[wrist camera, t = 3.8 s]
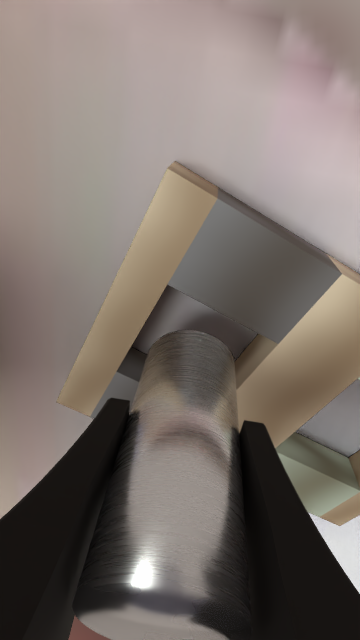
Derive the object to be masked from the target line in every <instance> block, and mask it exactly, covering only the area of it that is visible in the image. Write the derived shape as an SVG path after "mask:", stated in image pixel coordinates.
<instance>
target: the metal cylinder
mask: <svg viewBox="0 0 360 640" xmlns="http://www.w3.org/2000/svg"><path fill="white" fill-rule="evenodd" d="M72 608H73V612H74V614H75V615H76V617H77V618H78V619H79V620H80V621H81V622H82V623H83V624H84V625H86V626H87V627H89V628H90V629H92V630H94V631H95V632H97V633H99V634H101V635H103V636H105V637H107V638H110V639H112V640H249V639H250V637H251V635H252V622H251V606H250V591H249V576H248V560H247V545H246V530H245V514H244V499H243V484H242V468H241V453H240V438H239V422H238V407H237V392H236V377H235V363H234V359H233V356H232V354H231V352H230V350H229V349H228V347H227V346H226V345H225V344H224V343H223V342H221V341H220V340H219V339H217V338H216V337H214V336H212V335H210V334H207V333H204V332H201V331H195V330H180V331H175V332H171V333H169V334H166V335H164V336H162V337H161V338H159V339H158V340H157V341H156V342H155V343H154V344H153V345H152V346H151V348H150V350H149V352H148V354H147V358H146V361H145V364H144V368H143V371H142V374H141V378H140V381H139V384H138V387H137V391H136V394H135V397H134V401H133V404H132V407H131V411H130V414H129V418H128V421H127V424H126V428H125V431H124V434H123V438H122V441H121V444H120V447H119V450H118V454H117V457H116V460H115V464H114V467H113V470H112V474H111V477H110V480H109V484H108V487H107V490H106V494H105V497H104V500H103V503H102V507H101V510H100V513H99V517H98V520H97V523H96V527H95V530H94V533H93V537H92V540H91V543H90V547H89V550H88V553H87V556H86V560H85V563H84V566H83V570H82V573H81V576H80V580H79V583H78V586H77V590H76V593H75V596H74V600H73V603H72Z"/></svg>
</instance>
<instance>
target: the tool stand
mask: <svg viewBox="0 0 360 640" xmlns="http://www.w3.org/2000/svg"><path fill="white" fill-rule="evenodd" d="M167 285H169V286H171V287H173V288H175V289H177V290H178V291H180V292H182V293H184V294H186V295H188V296H190V297H191V298H193V299H195V300H197V301H199V302H201V303H203V304H205V305H206V306H208V307H210V308H212V309H214V310H216V311H218V312H219V313H221V314H223V315H225V316H227V317H229V318H231V319H233V320H234V321H236V322H238V323H240V324H242V325H244V326H246V327H247V328H249V329H251V330H253V331H255V332H257V333H259V334H258V335H257V336H256V337H255V338H254V340H253V341H252V342H251V343H250V344H249V346H248V347H247V348H246V349H245V350H244V351H243V353H242V354H241V355H240V356H239V357H238V359H237V360H236V361H235V362H234V363H235V377H236V392H237V407H238V422H239V433H240V431H241V428H242V425H243V422H244V420H247V421H253V422H259V423H264V425H265V426H266V428H267V431H268V433H269V435H270V438H271V440H272V442H273V444H274V447H275V449H276V451H277V453H278V455H279V458H280V460H281V462H282V464H283V466H284V468H285V470H286V472H287V474H288V476H289V478H290V480H291V482H292V484H293V486H294V488H295V490H296V492H297V493H298V495H299V497H300V499H301V501H302V503H303V505H304V506H305V508H306V510H307V512H309V513H311V514H313V515H316V516H318V517H320V518H322V519H325V520H327V521H329V522H332V523H334V524H336V525H338V526H341V525H343V524H344V523H346V522H348V521H350V520H351V519H353V518H355V517H357V516H358V515H360V450H359V451H358V452H356V453H355V454H353V455H352V456H351V457H349V458H347V457H345V456H343V455H341V454H339V453H337V452H335V451H333V450H331V449H329V448H327V447H325V446H323V445H321V444H318V443H316V442H314V441H312V440H310V439H308V438H306V437H304V436H302V435H300V434H298V433H296V432H295V431H296V430H298V429H299V428H300V427H301V426H302V425H303V424H305V423H306V422H307V421H308V420H309V419H310V418H312V417H313V416H314V415H315V414H316V413H318V412H319V411H320V410H321V409H322V408H323V407H325V406H326V405H327V404H328V403H329V402H330V401H332V400H333V399H334V398H335V397H336V396H337V395H339V394H340V393H341V392H342V391H343V390H345V389H346V388H347V387H348V386H349V385H350V384H352V383H353V382H354V381H355V380H356V379H358V380H360V274H359V273H357V272H355V271H354V270H352V269H350V268H349V267H347V266H346V265H344V264H342V263H341V262H339V261H337V260H336V259H334V258H333V257H331V256H329V255H328V254H326V253H324V252H323V251H321V250H319V249H318V248H316V247H315V246H313V245H311V244H310V243H308V242H306V241H305V240H303V239H301V238H300V237H298V236H297V235H295V234H293V233H292V232H290V231H288V230H287V229H285V228H284V227H282V226H280V225H279V224H277V223H275V222H274V221H272V220H270V219H269V218H267V217H266V216H264V215H262V214H261V213H259V212H257V211H256V210H254V209H252V208H251V207H249V206H248V205H246V204H244V203H243V202H241V201H239V200H238V199H236V198H235V197H233V196H231V195H230V194H228V193H226V192H225V191H223V190H221V189H220V188H218V187H217V186H215V185H213V184H212V183H210V182H208V181H207V180H205V179H203V178H202V177H200V176H199V175H197V174H195V173H194V172H192V171H190V170H189V169H187V168H186V167H184V166H182V165H181V164H179V163H177V162H176V161H175V162H173V163H172V164H171V165H170V166H169V167H168V168H167V170H166V172H165V174H164V176H163V179H162V181H161V183H160V185H159V187H158V189H157V191H156V193H155V195H154V197H153V200H152V202H151V204H150V206H149V208H148V210H147V212H146V214H145V216H144V218H143V221H142V223H141V225H140V227H139V229H138V231H137V233H136V235H135V237H134V239H133V242H132V244H131V246H130V248H129V250H128V252H127V254H126V256H125V258H124V260H123V263H122V265H121V267H120V269H119V271H118V273H117V275H116V277H115V279H114V281H113V284H112V286H111V288H110V290H109V292H108V294H107V296H106V298H105V300H104V302H103V305H102V307H101V309H100V311H99V313H98V315H97V317H96V319H95V321H94V323H93V326H92V328H91V330H90V332H89V334H88V336H87V338H86V340H85V342H84V344H83V347H82V349H81V351H80V353H79V355H78V357H77V359H76V361H75V363H74V365H73V368H72V370H71V372H70V374H69V376H68V378H67V380H66V382H65V384H64V386H63V389H62V391H61V393H60V395H59V397H58V399H57V401H56V402H57V403H60V404H62V405H64V406H66V407H69V408H71V409H73V410H76V411H78V412H80V413H82V414H85V415H87V416H89V417H92V418H95V417H96V416H97V414H98V413H99V412H100V410H101V409H102V407H103V406H104V404H105V403H106V401H107V400H108V399H109V398H117V399H123V400H129V401H130V409H129V414H130V411H131V407H132V404H133V401H134V397H135V394H136V391H137V387H138V384H139V381H140V378H141V374H142V371H143V368H144V364H145V361H146V358H147V355H146V354H144V353H142V352H140V351H138V350H135V349H133V348H131V346H132V344H133V342H134V341H135V339H136V337H137V335H138V334H139V332H140V330H141V329H142V327H143V325H144V323H145V322H146V320H147V318H148V317H149V315H150V313H151V311H152V310H153V308H154V306H155V305H156V303H157V301H158V300H159V298H160V296H161V294H162V293H163V291H164V289H165V288H166V286H167Z"/></svg>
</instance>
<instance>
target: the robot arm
mask: <svg viewBox="0 0 360 640" xmlns="http://www.w3.org/2000/svg"><path fill="white" fill-rule="evenodd" d="M129 409H130V401H129V400H123V399H117V398H109V399H108V400H107V401H106V403H105V404H104V406H103V407H102V409H101V410H100V412H99V413H98V414H97V416H96V417H95V418H94V420H93V421H92V422H91V424H90V425H89V426H88V428H87V429H86V430H85V431H84V433H83V434H82V435H81V436H80V437H79V439H78V440H77V441H76V442H75V443H74V445H73V446H72V447H71V448H70V449H69V450H68V452H67V453H66V454H65V455H64V456H63V457H62V458H61V459H60V461H59V462H58V463H57V464H56V465H55V466H54V467H53V468H52V469H51V470H50V471H49V472H48V473H47V475H46V476H45V477H44V478H43V479H42V480H41V481H40V482H39V483H38V484H37V485H36V486H35V487H34V488H33V489H32V490H31V491H30V492H29V493H28V494H27V495H26V496H25V497H24V498H23V499H22V500H21V501H20V502H18V503H17V504H16V505H15V506H14V507H13V508H12V509H11V510H10V511H9V512H8V513H7V514H6V515H4V516H3V517H2V518H1V519H0V640H68V638H69V635H70V631H71V627H72V623H73V619H74V616H75V614H74V612H73V608H72V603H73V600H74V596H75V593H76V590H77V586H78V583H79V580H80V576H81V573H82V570H83V566H84V563H85V560H86V556H87V553H88V550H89V547H90V543H91V540H92V537H93V533H94V530H95V527H96V523H97V520H98V517H99V513H100V510H101V507H102V503H103V500H104V497H105V494H106V490H107V487H108V484H109V480H110V477H111V474H112V470H113V467H114V464H115V460H116V457H117V454H118V450H119V447H120V444H121V441H122V438H123V434H124V431H125V428H126V424H127V421H128V418H129ZM239 438H240V453H241V468H242V484H243V499H244V514H245V530H246V545H247V560H248V576H249V591H250V606H251V622H252V635H251V637H250V639H249V640H360V594H359V592H358V591H357V589H356V588H355V587H354V585H353V584H352V582H351V581H350V579H349V578H348V576H347V575H346V573H345V572H344V570H343V569H342V567H341V566H340V564H339V563H338V561H337V560H336V558H335V557H334V555H333V554H332V552H331V550H330V549H329V547H328V546H327V544H326V542H325V541H324V539H323V537H322V536H321V534H320V533H319V531H318V529H317V527H316V526H315V524H314V522H313V521H312V519H311V517H310V515H309V514H308V512H307V510H306V508H305V506H304V505H303V503H302V501H301V499H300V497H299V495H298V493H297V492H296V490H295V488H294V486H293V484H292V482H291V480H290V478H289V476H288V474H287V472H286V470H285V468H284V466H283V464H282V462H281V460H280V458H279V455H278V453H277V451H276V449H275V447H274V444H273V442H272V440H271V438H270V435H269V433H268V431H267V428H266V426H265V425H264V423H259V422H253V421H247V420H244V422H243V425H242V428H241V431H240V433H239Z"/></svg>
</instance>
